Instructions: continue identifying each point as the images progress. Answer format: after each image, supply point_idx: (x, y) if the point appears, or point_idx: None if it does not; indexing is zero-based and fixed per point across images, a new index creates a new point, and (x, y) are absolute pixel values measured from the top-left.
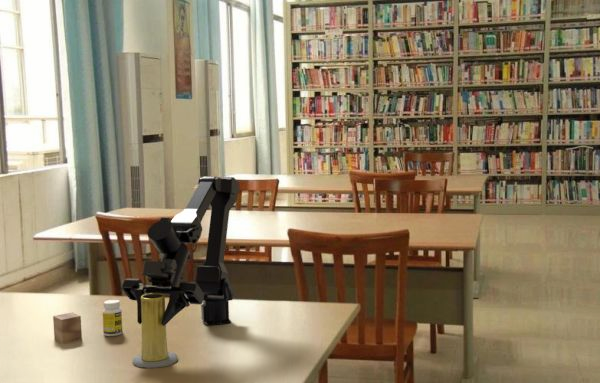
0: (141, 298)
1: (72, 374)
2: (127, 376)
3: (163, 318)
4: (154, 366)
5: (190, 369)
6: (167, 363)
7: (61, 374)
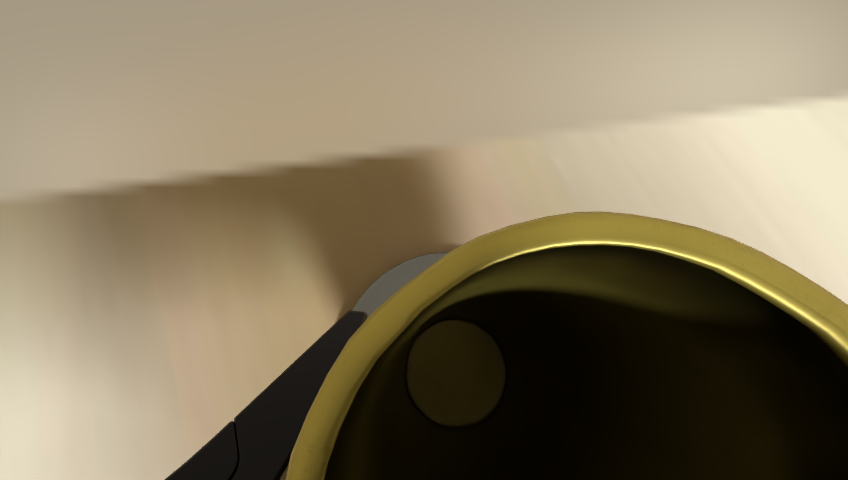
0: (835, 311)
1: (715, 145)
2: (483, 152)
3: (343, 336)
4: (411, 261)
5: (240, 267)
6: (360, 297)
7: (758, 139)
